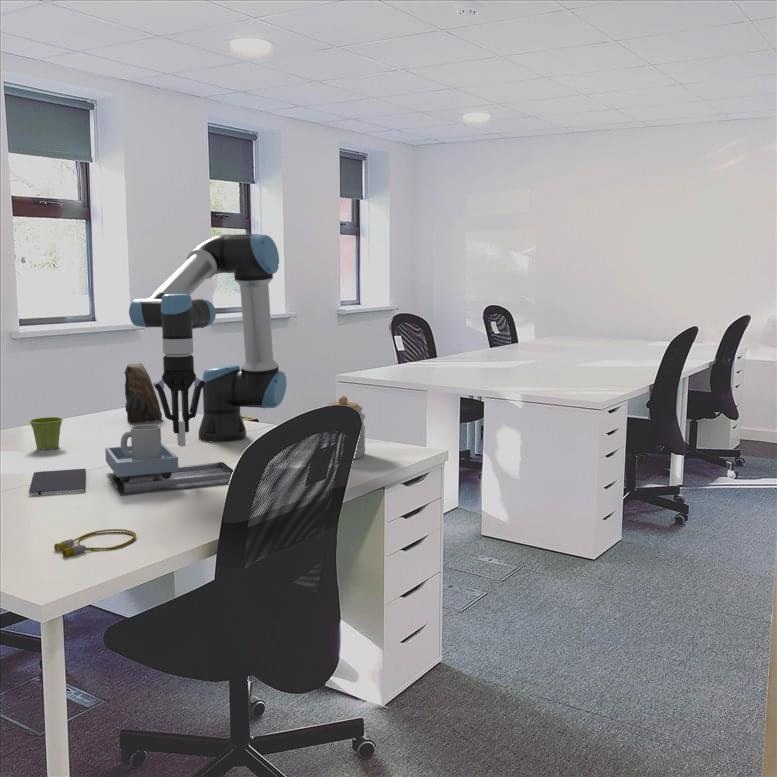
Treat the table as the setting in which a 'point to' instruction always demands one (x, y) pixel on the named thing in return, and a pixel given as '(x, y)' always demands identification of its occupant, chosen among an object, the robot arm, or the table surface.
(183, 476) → the track
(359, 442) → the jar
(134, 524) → the table surface
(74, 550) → the extension cord
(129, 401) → the brown rock
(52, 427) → the plant pot
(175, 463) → the cart
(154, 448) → the cup
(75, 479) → the notebook
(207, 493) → the table surface
